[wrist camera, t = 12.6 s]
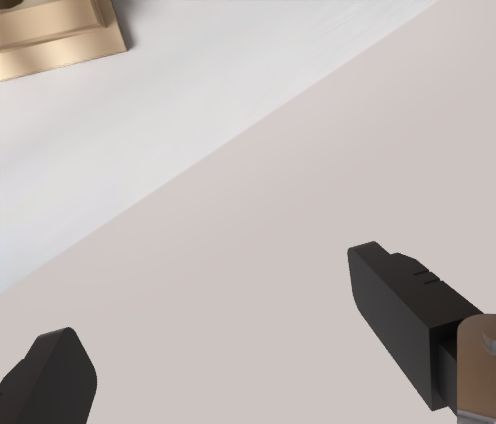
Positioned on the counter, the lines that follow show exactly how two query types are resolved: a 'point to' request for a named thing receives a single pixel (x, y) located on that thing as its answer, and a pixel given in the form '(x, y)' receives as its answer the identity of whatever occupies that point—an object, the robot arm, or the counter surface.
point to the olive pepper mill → (9, 3)
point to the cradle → (56, 35)
